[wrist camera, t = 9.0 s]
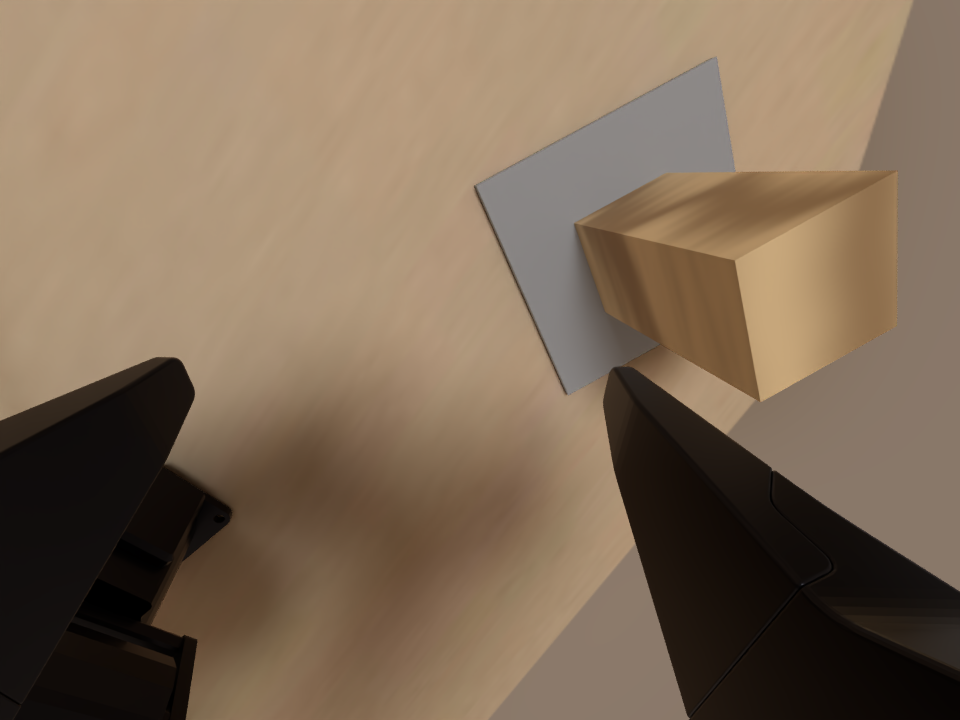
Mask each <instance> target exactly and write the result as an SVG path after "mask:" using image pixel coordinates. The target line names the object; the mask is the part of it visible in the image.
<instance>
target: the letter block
mask: <svg viewBox="0 0 960 720" xmlns="http://www.w3.org/2000/svg"><path fill="white" fill-rule="evenodd" d="M897 197H898V171H799V172H691V173H665V174H663V175H661V176H659V177H657V178H656V179H654V180H652V181H650V182H648V183H646V184H645V185H643V186H641V187H639V188H637V189H635V190H634V191H632V192H630V193H628V194H626V195H624V196H623V197H621V198H619V199H617V200H615V201H613V202H612V203H610V204H608V205H606V206H604V207H602V208H601V209H599V210H597V211H595V212H593V213H591V214H590V215H588V216H586V217H584V218H582V219H580V220H579V221H577V222H575V223H574V225H575V228H576V231H577V233H578V236H579V239H580V242H581V245H582V248H583V250H584V253H585V256H586V259H587V262H588V265H589V267H590V270H591V273H592V276H593V279H594V282H595V284H596V287H597V290H598V293H599V296H600V299H601V302H602V304H603V307H604V310H605V312H606V313H607V314H609V315H611V316H613V317H614V318H616V319H618V320H620V321H621V322H623V323H625V324H626V325H628V326H630V327H632V328H633V329H635V330H637V331H639V332H640V333H642V334H644V335H645V336H647V337H649V338H651V339H652V340H654V341H656V342H658V343H659V344H661V345H663V346H664V347H666V348H668V349H670V350H671V351H673V352H675V353H677V354H678V355H680V356H682V357H683V358H685V359H687V360H689V361H690V362H692V363H694V364H696V365H697V366H699V367H701V368H702V369H704V370H706V371H708V372H709V373H711V374H713V375H715V376H716V377H718V378H720V379H721V380H723V381H725V382H727V383H728V384H730V385H732V386H734V387H735V388H737V389H739V390H740V391H742V392H744V393H746V394H747V395H749V396H751V397H753V398H754V399H756V400H758V401H759V402H762V401H764V400H765V399H767V398H769V397H771V396H773V395H774V394H776V393H778V392H780V391H781V390H783V389H785V388H787V387H788V386H790V385H792V384H794V383H796V382H798V381H799V380H801V379H803V378H805V377H806V376H808V375H810V374H812V373H814V372H815V371H817V370H819V369H821V368H823V367H824V366H826V365H828V364H830V363H831V362H833V361H835V360H837V359H838V358H840V357H842V356H844V355H846V354H848V353H849V352H851V351H853V350H855V349H856V348H858V347H860V346H862V345H864V344H865V343H867V342H869V341H871V340H873V339H874V338H876V337H878V336H880V335H882V334H883V333H885V332H887V331H889V330H890V329H892V328H894V327H896V326H897V217H898V215H897V214H898V209H897V208H898V205H897V204H898V198H897Z"/></svg>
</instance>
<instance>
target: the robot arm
mask: <svg viewBox="0 0 960 720" xmlns="http://www.w3.org/2000/svg"><path fill="white" fill-rule="evenodd" d="M194 397H195V390H194V387H193V384H192V382H191V380H190V378H189V376H188V374H187V371H186V369H185V367H184V365H183V363H182V362H181V361H180V360H179V359H177V358H174V357H156V358H152V359H150V360H148V361H145V362H143V363H140V364H138V365H135V366H133V367H130V368H128V369H126V370H123V371H121V372H118V373H116V374H113V375H111V376H109V377H106V378H104V379H101V380H99V381H96V382H94V383H91V384H89V385H87V386H84V387H82V388H79V389H77V390H74V391H72V392H69V393H67V394H65V395H62V396H60V397H57V398H55V399H52V400H50V401H48V402H45V403H43V404H40V405H38V406H35V407H33V408H30V409H28V410H26V411H23V412H21V413H18V414H16V415H13V416H11V417H8V418H6V419H4V420H1V421H0V720H186V714H187V707H188V700H189V694H190V687H191V680H192V673H193V667H194V660H195V653H196V647H197V639H194V638H191V637H189V636H186V635H184V636H183V637H180V636H178V635H175V634H172V633H170V632H167V631H164V630H162V629H159V628H156V627H154V626H151V624H152V621H153V619H154V617H155V615H156V613H157V611H158V609H159V607H160V605H161V603H162V601H163V599H164V597H165V595H166V593H167V591H168V589H169V586H170V584H171V582H172V580H173V578H174V576H175V574H176V572H177V570H178V568H179V566H180V564H181V562H182V561H184V560H185V559H186V558H187V557H188V556H190V555H191V554H192V553H193V552H194V551H196V550H197V549H198V548H199V547H200V546H202V545H203V544H204V543H205V542H206V541H208V540H209V539H210V538H211V537H212V536H214V535H215V534H216V533H217V532H218V531H220V530H221V529H222V528H223V527H224V526H226V525H227V524H228V523H229V521H230V519H231V517H232V510H231V509H230V508H229V507H227V506H226V505H224V504H222V503H221V502H219V501H217V500H216V499H214V498H213V497H211V496H209V495H208V494H206V493H204V492H203V491H201V490H200V489H198V488H196V487H195V486H193V485H191V484H190V483H188V482H187V481H185V480H183V479H182V478H180V477H178V476H177V475H175V474H174V473H172V472H170V471H169V470H167V469H165V468H164V467H163V465H164V463H165V461H166V459H167V457H168V455H169V453H170V451H171V449H172V447H173V445H174V442H175V440H176V438H177V436H178V434H179V431H180V429H181V427H182V425H183V423H184V420H185V418H186V416H187V414H188V412H189V409H190V407H191V405H192V403H193V401H194ZM603 408H604V414H605V420H606V426H607V432H608V438H609V444H610V450H611V456H612V461H613V467H614V471H615V475H616V479H617V482H618V486H619V489H620V492H621V496H622V499H623V503H624V506H625V509H626V513H627V516H628V519H629V523H630V526H631V529H632V533H633V536H634V539H635V543H636V546H637V549H638V553H639V556H640V559H641V563H642V566H643V569H644V573H645V576H646V579H647V583H648V586H649V589H650V593H651V596H652V599H653V603H654V606H655V609H656V613H657V616H658V619H659V623H660V626H661V629H662V633H663V636H664V639H665V643H666V646H667V650H668V653H669V656H670V660H671V663H672V666H673V670H674V673H675V676H676V680H677V683H678V686H679V689H680V692H681V696H682V699H683V703H684V706H685V709H686V713H687V716H688V717H689V718H690V719H689V720H960V591H958V590H956V589H955V588H953V587H952V586H950V585H949V584H947V583H946V582H944V581H942V580H941V579H939V578H938V577H936V576H935V575H933V574H931V573H930V572H928V571H926V570H925V569H923V568H922V567H920V566H919V565H917V564H916V563H914V562H912V561H911V560H909V559H908V558H906V557H904V556H903V555H901V554H900V553H898V552H897V551H895V550H893V549H892V548H890V547H889V546H887V545H886V544H884V543H882V542H881V541H879V540H878V539H876V538H874V537H873V536H871V535H870V534H868V533H867V532H865V531H863V530H862V529H860V528H859V527H857V526H856V525H854V524H853V523H851V522H850V521H848V520H846V519H845V518H843V517H842V516H840V515H839V514H837V513H836V512H834V511H832V510H831V509H830V508H828V507H827V506H825V505H824V504H822V503H821V502H819V501H818V500H816V499H815V498H813V497H812V496H811V495H809V494H808V493H806V492H805V491H803V490H802V489H801V488H799V487H798V486H796V485H795V484H793V483H792V482H791V481H789V480H788V479H787V478H785V477H784V476H782V475H781V474H780V473H778V472H777V471H772V468H771V467H769V466H768V465H767V464H765V463H764V462H763V461H761V460H760V459H758V458H757V457H756V456H754V455H753V454H752V453H750V452H749V451H748V450H746V449H745V448H743V447H742V446H741V445H739V444H738V443H737V442H735V441H734V440H732V439H731V438H730V437H728V436H727V435H725V434H724V433H723V432H721V431H720V430H719V429H717V428H716V427H714V426H713V425H712V424H710V423H709V422H707V421H706V420H705V419H703V418H702V417H701V416H699V415H698V414H696V413H695V412H694V411H692V410H691V409H689V408H688V407H687V406H685V405H684V404H683V403H681V402H680V401H678V400H677V399H676V398H674V397H673V396H671V395H670V394H669V393H667V392H666V391H665V390H663V389H662V388H660V387H659V386H658V385H656V384H655V383H653V382H652V381H651V380H649V379H648V378H647V377H645V376H644V375H642V374H641V373H640V372H638V371H637V370H635V369H634V368H632V367H613V368H612V369H611V370H610V373H609V377H608V381H607V385H606V389H605V394H604V399H603ZM217 515H222V516H224V517H218V516H217Z"/></svg>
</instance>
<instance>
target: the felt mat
mask: <svg viewBox="0 0 960 720" xmlns="http://www.w3.org/2000/svg"><path fill="white" fill-rule="evenodd" d="M691 172H735V166H734V160H733V153H732V147H731V141H730V135H729V129H728V123H727V117H726V110H725V104H724V98H723V92H722V86H721V80H720V74H719V67H718V61H717V57H714V58H711V59H709V60H707V61H705V62H703V63H701V64H699V65H698V66H696V67H694V68H692V69H690V70H688V71H686V72H685V73H683V74H681V75H679V76H677V77H675V78H673V79H671V80H670V81H668V82H666V83H664V84H662V85H660V86H658V87H657V88H655V89H653V90H651V91H649V92H647V93H645V94H644V95H642V96H640V97H638V98H636V99H634V100H632V101H631V102H629V103H627V104H625V105H623V106H621V107H619V108H618V109H616V110H614V111H612V112H610V113H608V114H606V115H605V116H603V117H601V118H599V119H597V120H595V121H593V122H592V123H590V124H588V125H586V126H584V127H582V128H580V129H579V130H577V131H575V132H573V133H571V134H569V135H567V136H566V137H564V138H562V139H560V140H558V141H556V142H554V143H553V144H551V145H549V146H547V147H545V148H543V149H541V150H540V151H538V152H536V153H534V154H532V155H530V156H528V157H527V158H525V159H523V160H521V161H519V162H517V163H515V164H514V165H512V166H510V167H508V168H506V169H504V170H502V171H501V172H499V173H497V174H495V175H493V176H491V177H489V178H488V179H486V180H484V181H482V182H480V183H478V184H476V185H475V189H476V191H477V193H478V195H479V198H480V200H481V202H482V205H483V207H484V209H485V211H486V214H487V216H488V218H489V220H490V223H491V225H492V227H493V229H494V232H495V234H496V236H497V238H498V241H499V243H500V245H501V247H502V250H503V252H504V254H505V257H506V259H507V261H508V263H509V266H510V268H511V270H512V272H513V275H514V277H515V279H516V281H517V284H518V286H519V288H520V290H521V293H522V295H523V297H524V299H525V302H526V304H527V306H528V309H529V311H530V313H531V315H532V318H533V320H534V322H535V324H536V327H537V329H538V331H539V333H540V336H541V338H542V340H543V342H544V345H545V347H546V349H547V352H548V354H549V356H550V358H551V361H552V363H553V365H554V367H555V370H556V372H557V374H558V376H559V379H560V381H561V383H562V385H563V388H564V390H565V392H566V393H567V394H568V395H570V394H571V393H573V392H575V391H577V390H579V389H581V388H582V387H584V386H586V385H588V384H590V383H591V382H593V381H595V380H597V379H599V378H600V377H602V376H604V375H606V374H608V373H610V370H611V369H612V368H613V367H620V366H622V365H624V364H626V363H628V362H629V361H631V360H633V359H635V358H637V357H639V356H640V355H642V354H644V353H646V352H648V351H649V350H651V349H653V348H655V347H657V346H658V345H660V344H659V343H658V342H656V341H654V340H652V339H651V338H649V337H647V336H645V335H644V334H642V333H640V332H639V331H637V330H635V329H633V328H632V327H630V326H628V325H626V324H625V323H623V322H621V321H620V320H618V319H616V318H614V317H613V316H611V315H609V314H607V313H606V312H605V310H604V307H603V304H602V302H601V299H600V296H599V293H598V290H597V287H596V284H595V282H594V279H593V276H592V273H591V270H590V267H589V265H588V262H587V259H586V256H585V253H584V250H583V248H582V245H581V242H580V239H579V236H578V233H577V231H576V228H575V225H574V223H575V222H577V221H579V220H580V219H582V218H584V217H586V216H588V215H590V214H591V213H593V212H595V211H597V210H599V209H601V208H602V207H604V206H606V205H608V204H610V203H612V202H613V201H615V200H617V199H619V198H621V197H623V196H624V195H626V194H628V193H630V192H632V191H634V190H635V189H637V188H639V187H641V186H643V185H645V184H646V183H648V182H650V181H652V180H654V179H656V178H657V177H659V176H661V175H663V174H665V173H691Z"/></svg>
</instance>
